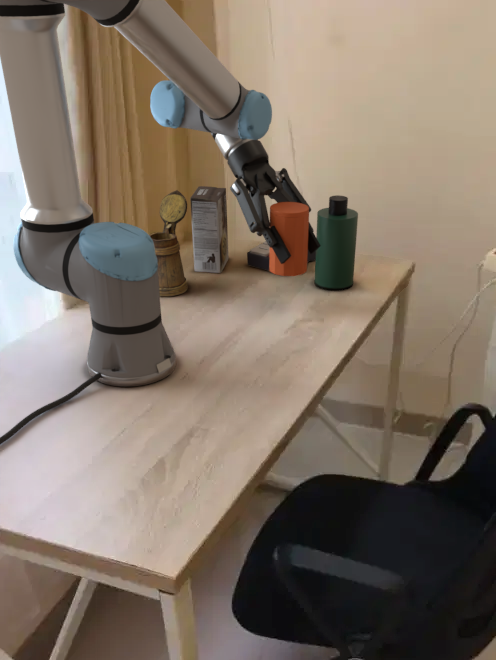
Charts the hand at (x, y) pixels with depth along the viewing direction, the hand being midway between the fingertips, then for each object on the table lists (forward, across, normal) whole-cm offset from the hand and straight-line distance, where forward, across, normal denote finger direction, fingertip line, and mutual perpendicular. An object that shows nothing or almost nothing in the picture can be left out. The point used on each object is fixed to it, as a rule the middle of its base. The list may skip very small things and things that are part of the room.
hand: (301, 254), depth 145 cm
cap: (0, 0, -5) cm, 5 cm away
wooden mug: (-12, +10, -28) cm, 33 cm away
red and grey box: (-7, -18, -23) cm, 31 cm away
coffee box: (-14, -4, -30) cm, 34 cm away
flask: (+5, -16, -11) cm, 20 cm away
